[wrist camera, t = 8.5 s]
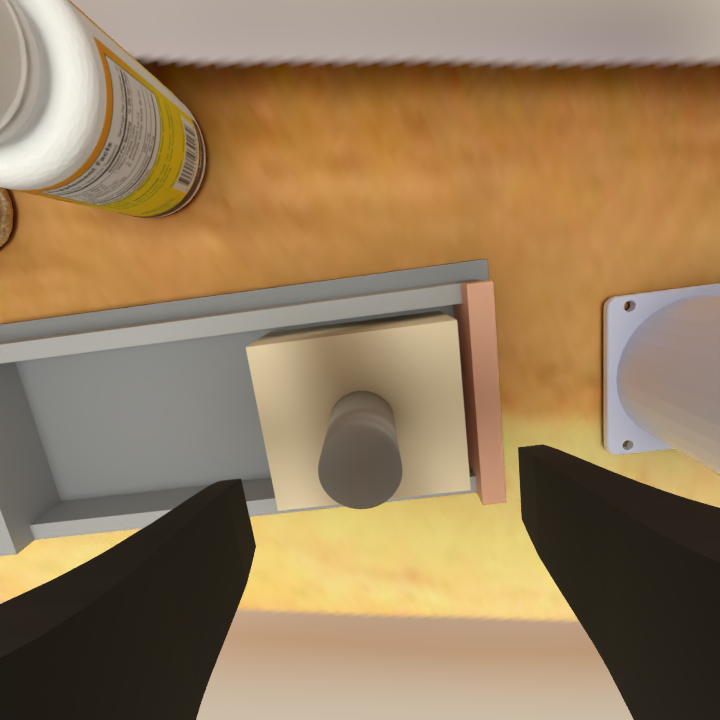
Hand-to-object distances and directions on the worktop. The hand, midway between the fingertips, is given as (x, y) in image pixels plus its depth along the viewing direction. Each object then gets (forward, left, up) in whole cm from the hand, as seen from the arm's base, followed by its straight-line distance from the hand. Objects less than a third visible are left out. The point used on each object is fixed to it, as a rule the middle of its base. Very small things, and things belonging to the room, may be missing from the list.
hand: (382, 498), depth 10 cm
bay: (+6, 0, -10) cm, 12 cm away
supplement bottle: (+9, -12, -10) cm, 18 cm away
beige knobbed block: (+1, 0, -9) cm, 9 cm away
